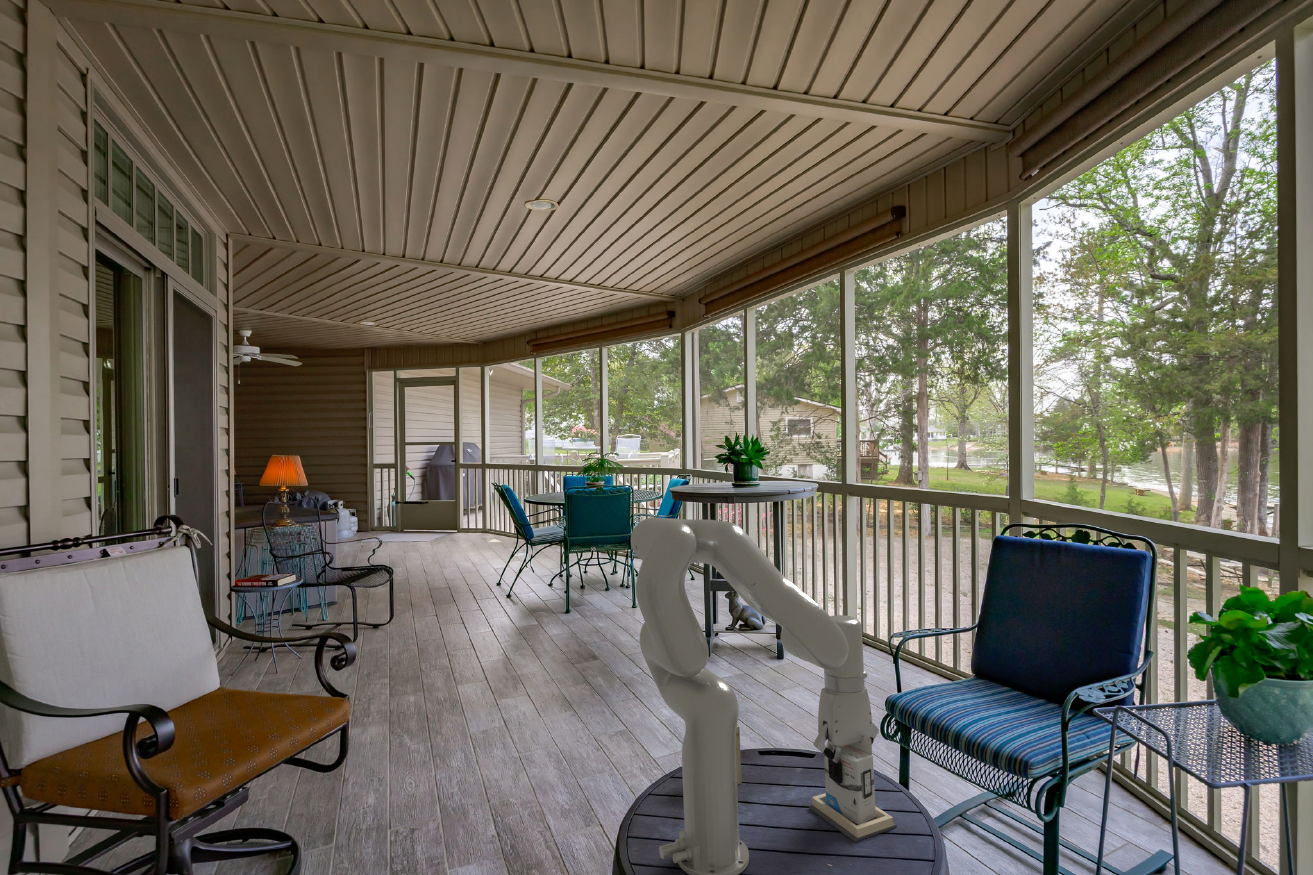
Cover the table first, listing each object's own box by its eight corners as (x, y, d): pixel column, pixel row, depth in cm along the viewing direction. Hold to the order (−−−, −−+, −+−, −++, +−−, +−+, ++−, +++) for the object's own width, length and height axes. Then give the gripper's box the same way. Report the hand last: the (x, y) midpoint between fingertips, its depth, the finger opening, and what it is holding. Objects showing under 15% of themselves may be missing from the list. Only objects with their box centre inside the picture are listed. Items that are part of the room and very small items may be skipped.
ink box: (824, 806, 125) (821, 730, 126) (842, 798, 128) (838, 723, 129) (859, 826, 118) (855, 744, 119) (877, 817, 121) (873, 737, 122)
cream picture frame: (854, 841, 115) (854, 830, 115) (809, 808, 127) (808, 797, 127) (896, 827, 119) (896, 816, 119) (849, 796, 131) (848, 786, 131)
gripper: (864, 669, 131) (869, 759, 130) (796, 683, 124) (800, 778, 123) (892, 679, 125) (897, 775, 124) (821, 695, 118) (825, 796, 117)
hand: (848, 775), depth 124 cm, fingers open, 5 cm apart
